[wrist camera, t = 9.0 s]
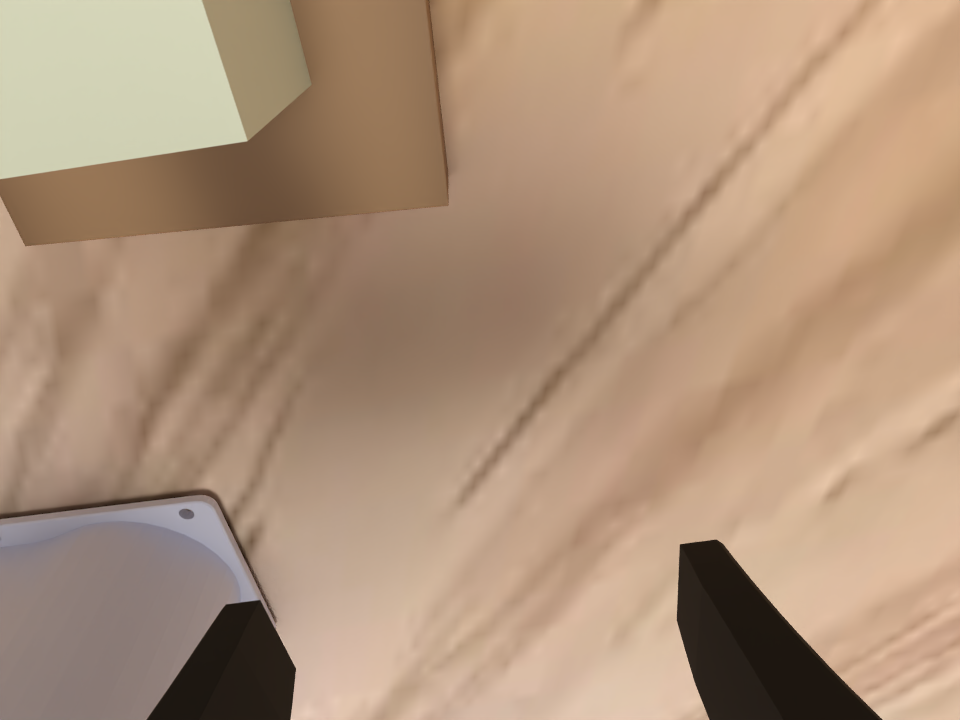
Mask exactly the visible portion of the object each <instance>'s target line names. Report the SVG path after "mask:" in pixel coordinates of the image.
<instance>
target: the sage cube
mask: <svg viewBox="0 0 960 720" xmlns="http://www.w3.org/2000/svg"><path fill="white" fill-rule="evenodd" d="M311 85H312V84H311V80H310V76H309V73H308V69H307V65H306V61H305V57H304V53H303V49H302V46H301V42H300V38H299V34H298V30H297V26H296V23H295V19H294V15H293V11H292V7H291V3H290V0H0V179H5V178H11V177H18V176H24V175H31V174H37V173H44V172H50V171H57V170H63V169H70V168H76V167H83V166H89V165H96V164H102V163H109V162H115V161H122V160H128V159H135V158H142V157H148V156H155V155H161V154H168V153H174V152H181V151H187V150H194V149H200V148H207V147H213V146H220V145H226V144H233V143H239V142H246V141H248V140H250V139H251V138H252V137H253V136H254V135H255V134H256V133H258V132H259V131H260V130H261V129H262V128H263V127H264V126H265V125H267V124H268V123H269V122H270V121H271V120H272V119H273V118H275V117H276V116H277V115H278V114H279V113H280V112H281V111H282V110H284V109H285V108H286V107H287V106H288V105H289V104H290V103H292V102H293V101H294V100H295V99H296V98H297V97H298V96H299V95H301V94H302V93H303V92H304V91H305V90H306V89H307V88H308V87H310V86H311Z"/></svg>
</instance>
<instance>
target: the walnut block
mask: <svg viewBox="0 0 960 720" xmlns="http://www.w3.org/2000/svg"><path fill="white" fill-rule="evenodd" d="M290 3H291V7H292V11H293V15H294V19H295V23H296V26H297V30H298V34H299V38H300V42H301V46H302V49H303V53H304V57H305V61H306V65H307V69H308V73H309V76H310V80H311V84H312V85H311V86H310V87H308V88H307V89H306V90H305V91H304V92H303V93H302V94H301V95H299V96H298V97H297V98H296V99H295V100H294V101H293V102H292V103H290V104H289V105H288V106H287V107H286V108H285V109H284V110H282V111H281V112H280V113H279V114H278V115H277V116H276V117H275V118H273V119H272V120H271V121H270V122H269V123H268V124H267V125H265V126H264V127H263V128H262V129H261V130H260V131H259V132H258V133H256V134H255V135H254V136H253V137H252V138H251V139H250V140H248V141H246V142H239V143H233V144H226V145H220V146H213V147H207V148H200V149H194V150H187V151H181V152H174V153H168V154H161V155H155V156H148V157H142V158H135V159H128V160H122V161H115V162H109V163H102V164H96V165H89V166H83V167H76V168H70V169H63V170H57V171H50V172H44V173H37V174H31V175H24V176H18V177H11V178H5V179H0V196H1V198H2V200H3V202H4V204H5V206H6V208H7V210H8V212H9V214H10V216H11V218H12V220H13V222H14V224H15V226H16V228H17V230H18V232H19V234H20V236H21V238H22V240H23V242H24V244H25V246H32V245H42V244H53V243H63V242H74V241H84V240H95V239H105V238H115V237H126V236H136V235H147V234H157V233H167V232H178V231H188V230H199V229H209V228H219V227H230V226H240V225H251V224H261V223H271V222H282V221H292V220H303V219H313V218H323V217H334V216H344V215H355V214H365V213H375V212H386V211H396V210H407V209H417V208H428V207H438V206H448V168H447V159H446V150H445V141H444V132H443V123H442V114H441V105H440V96H439V87H438V78H437V69H436V60H435V51H434V41H433V32H432V23H431V14H430V5H429V0H290Z"/></svg>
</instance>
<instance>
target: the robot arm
mask: <svg viewBox="0 0 960 720" xmlns="http://www.w3.org/2000/svg"><path fill="white" fill-rule="evenodd" d="M186 509H189V510H191V511H188V510H186ZM677 622H678V626H679V629H680V633H681V636H682V640H683V644H684V647H685V651H686V654H687V657H688V661H689V664H690V668H691V671H692V674H693V678H694V681H695V684H696V686H697V689H698V692H699V694H700V697H701V699H702V702H703V704H704V707H705V709H706V712H707V714H708V717H709V719H710V720H882V719H881V718H880V717H879V716H878V715H877V714H876V713H875V712H874V711H873V710H872V709H871V708H870V707H869V706H868V705H867V704H866V703H865V702H864V701H863V700H862V699H861V698H860V697H859V696H858V695H857V694H856V693H855V692H854V691H853V690H852V689H851V688H850V687H849V686H848V685H847V684H846V683H845V682H844V681H843V680H842V679H841V678H840V677H839V676H838V675H837V674H836V673H835V672H834V671H833V670H832V669H831V668H830V667H829V666H828V665H827V664H826V663H825V661H824V660H823V659H822V658H821V657H820V656H819V655H818V654H817V653H816V652H815V651H814V650H813V649H812V648H811V646H810V645H809V644H808V643H807V642H806V641H805V640H804V639H803V638H802V637H801V636H800V635H799V634H798V633H797V631H796V630H795V629H794V628H793V627H792V626H791V625H790V624H789V623H788V622H787V620H786V619H785V618H784V617H783V616H782V615H781V614H780V613H779V611H778V610H777V609H776V608H775V607H774V606H773V604H772V603H771V602H770V601H769V600H768V599H767V598H766V596H765V595H764V594H763V593H762V592H761V591H760V589H759V588H758V587H757V586H756V585H755V583H754V582H753V581H752V580H751V579H750V577H749V576H748V575H747V574H746V573H745V571H744V570H743V569H742V568H741V566H740V565H739V564H738V563H737V561H736V560H735V559H734V558H733V556H732V555H731V554H730V553H729V551H728V550H727V549H726V547H725V546H724V545H723V544H722V543H721V542H719V541H718V540H710V541H702V542H694V543H687V544H680V556H679V580H678V605H677ZM295 672H296V668H295V666H294V664H293V662H292V660H291V658H290V657H289V655H288V653H287V651H286V649H285V647H284V645H283V643H282V641H281V639H280V637H279V635H278V633H277V631H276V624H275V622H274V620H273V618H272V616H271V614H270V612H269V609H268V607H267V605H266V603H265V601H264V599H263V597H262V595H261V593H260V591H259V589H258V587H257V584H256V582H255V580H254V578H253V576H252V574H251V572H250V570H249V568H248V566H247V564H246V562H245V560H244V557H243V555H242V553H241V551H240V549H239V547H238V545H237V543H236V541H235V539H234V537H233V535H232V532H231V530H230V528H229V526H228V524H227V522H226V520H225V518H224V516H223V514H222V512H221V510H220V507H219V505H218V503H217V502H216V501H215V500H214V499H213V498H211V497H209V496H206V495H194V496H186V497H178V498H170V499H162V500H153V501H145V502H137V503H129V504H121V505H112V506H104V507H96V508H88V509H80V510H72V511H63V512H55V513H47V514H39V515H31V516H22V517H14V518H6V519H0V720H290V718H291V710H292V702H293V692H294V682H295Z"/></svg>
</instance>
